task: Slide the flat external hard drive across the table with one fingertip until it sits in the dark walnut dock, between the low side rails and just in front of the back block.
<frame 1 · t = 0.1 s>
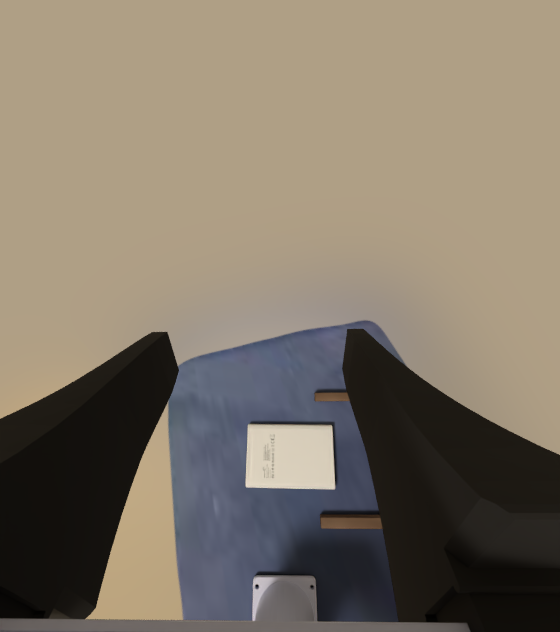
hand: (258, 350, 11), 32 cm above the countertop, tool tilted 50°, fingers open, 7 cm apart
external hard drive: (289, 453, 39), on the countertop
dock: (331, 454, 38), on the countertop
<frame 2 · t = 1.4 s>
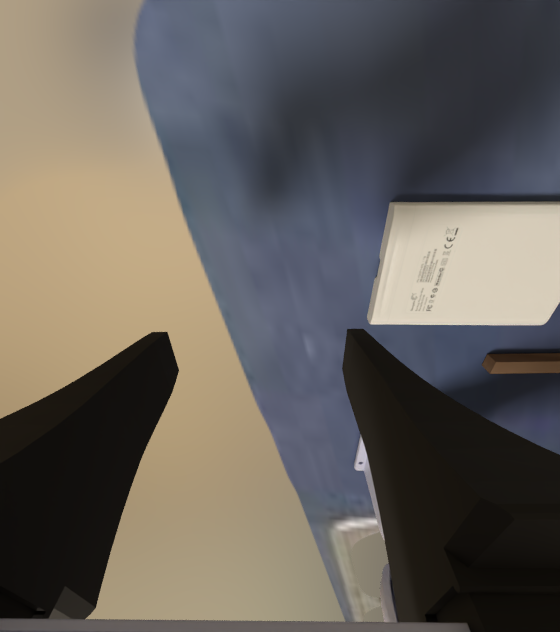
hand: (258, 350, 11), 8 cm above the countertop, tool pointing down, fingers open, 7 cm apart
external hard drive: (463, 263, 18), on the countertop
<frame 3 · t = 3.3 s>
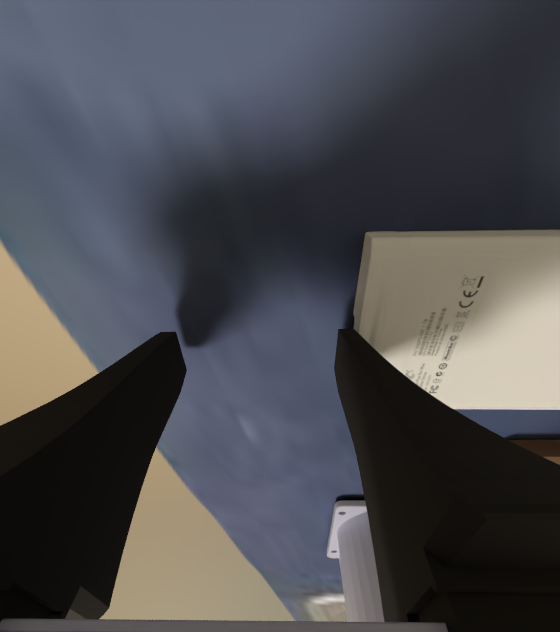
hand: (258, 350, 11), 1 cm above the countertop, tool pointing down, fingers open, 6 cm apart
external hard drive: (486, 319, 12), on the countertop, touching gripper
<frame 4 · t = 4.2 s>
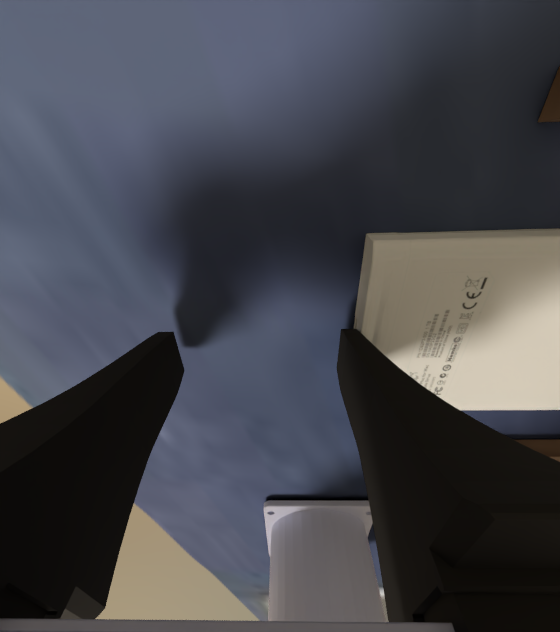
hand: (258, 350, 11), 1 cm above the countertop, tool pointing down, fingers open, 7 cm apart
external hard drive: (490, 319, 12), on the countertop, touching gripper
dock: (501, 334, 11), on the countertop
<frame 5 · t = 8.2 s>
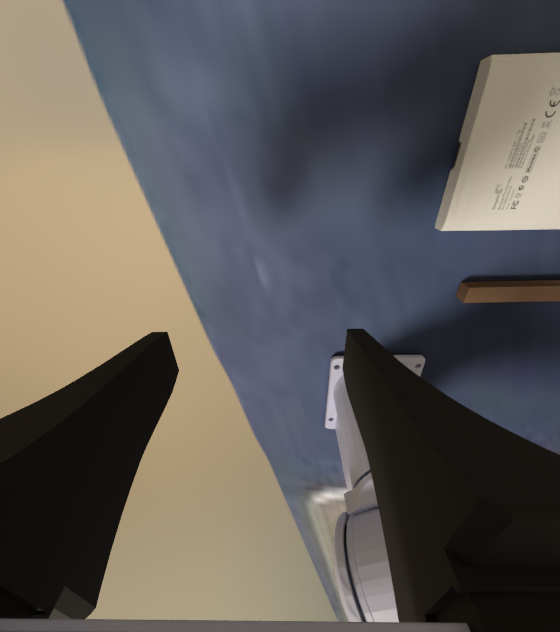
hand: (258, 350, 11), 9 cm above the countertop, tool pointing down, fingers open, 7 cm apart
external hard drive: (553, 153, 16), on the countertop
dock: (537, 164, 15), on the countertop
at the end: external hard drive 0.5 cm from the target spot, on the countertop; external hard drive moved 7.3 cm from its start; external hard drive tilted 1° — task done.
